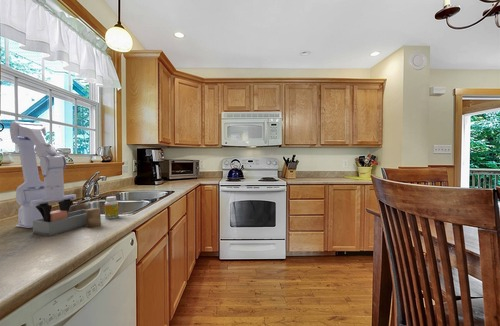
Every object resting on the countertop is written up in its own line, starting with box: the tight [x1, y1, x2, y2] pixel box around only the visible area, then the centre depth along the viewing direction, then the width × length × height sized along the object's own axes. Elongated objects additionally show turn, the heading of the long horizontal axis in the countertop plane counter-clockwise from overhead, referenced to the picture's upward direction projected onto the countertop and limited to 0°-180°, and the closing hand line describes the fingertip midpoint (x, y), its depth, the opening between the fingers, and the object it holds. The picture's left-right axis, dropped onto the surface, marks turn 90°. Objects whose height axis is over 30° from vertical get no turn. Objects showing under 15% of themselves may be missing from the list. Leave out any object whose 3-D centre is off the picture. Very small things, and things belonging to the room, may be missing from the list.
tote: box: [32, 209, 87, 237], centre depth 91 cm, size 9×18×5 cm, turn 161°
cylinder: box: [85, 207, 102, 229], centre depth 93 cm, size 5×5×7 cm
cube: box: [50, 209, 67, 222], centre depth 87 cm, size 5×5×5 cm
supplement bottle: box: [104, 195, 119, 220], centre depth 105 cm, size 5×5×10 cm
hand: (55, 220), depth 87 cm, fingers closed on cube, 5 cm apart
